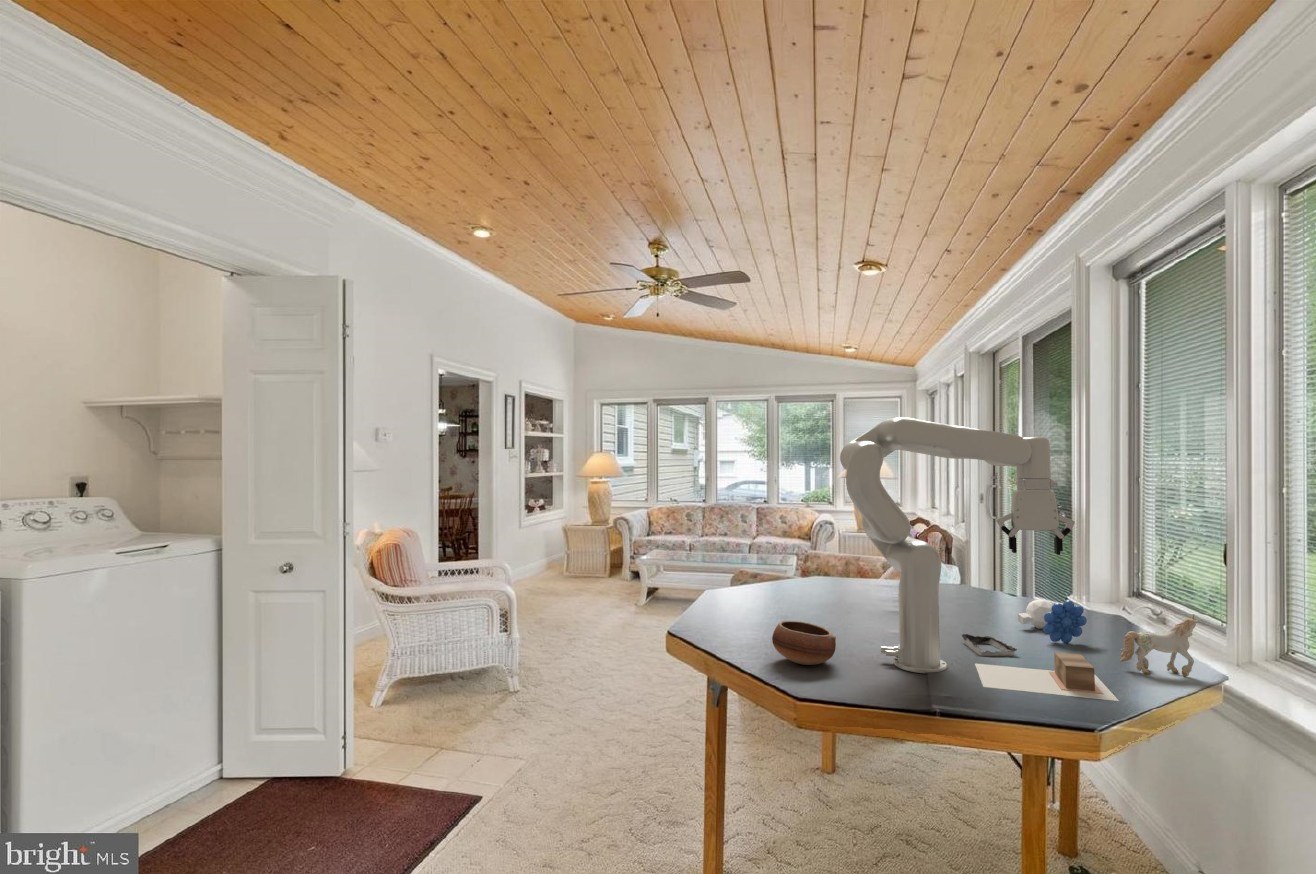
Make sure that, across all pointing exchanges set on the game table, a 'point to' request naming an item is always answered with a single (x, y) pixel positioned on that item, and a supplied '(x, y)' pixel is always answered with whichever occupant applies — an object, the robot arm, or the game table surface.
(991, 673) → the rubber mat
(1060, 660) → the walnut block
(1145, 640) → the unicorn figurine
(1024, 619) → the perfume bottle
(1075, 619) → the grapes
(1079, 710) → the game table surface
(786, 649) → the bowl
